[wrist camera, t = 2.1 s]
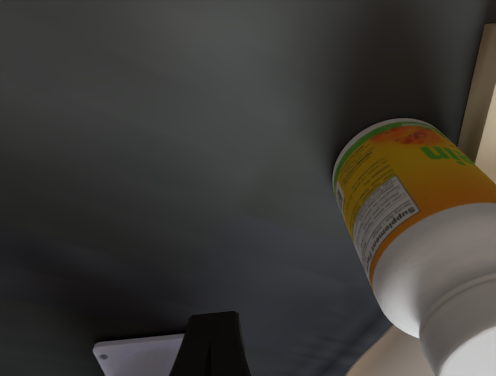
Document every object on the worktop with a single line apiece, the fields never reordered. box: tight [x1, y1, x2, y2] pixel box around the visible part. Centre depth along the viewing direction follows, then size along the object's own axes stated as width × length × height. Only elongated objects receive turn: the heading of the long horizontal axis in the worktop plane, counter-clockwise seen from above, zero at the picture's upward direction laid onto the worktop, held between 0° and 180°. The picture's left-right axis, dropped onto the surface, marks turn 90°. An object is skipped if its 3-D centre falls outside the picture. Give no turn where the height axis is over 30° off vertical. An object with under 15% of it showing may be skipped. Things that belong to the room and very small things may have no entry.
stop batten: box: [457, 23, 496, 184], centre depth 18 cm, size 13×2×2 cm, turn 6°
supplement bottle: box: [332, 118, 496, 376], centre depth 14 cm, size 5×5×10 cm
